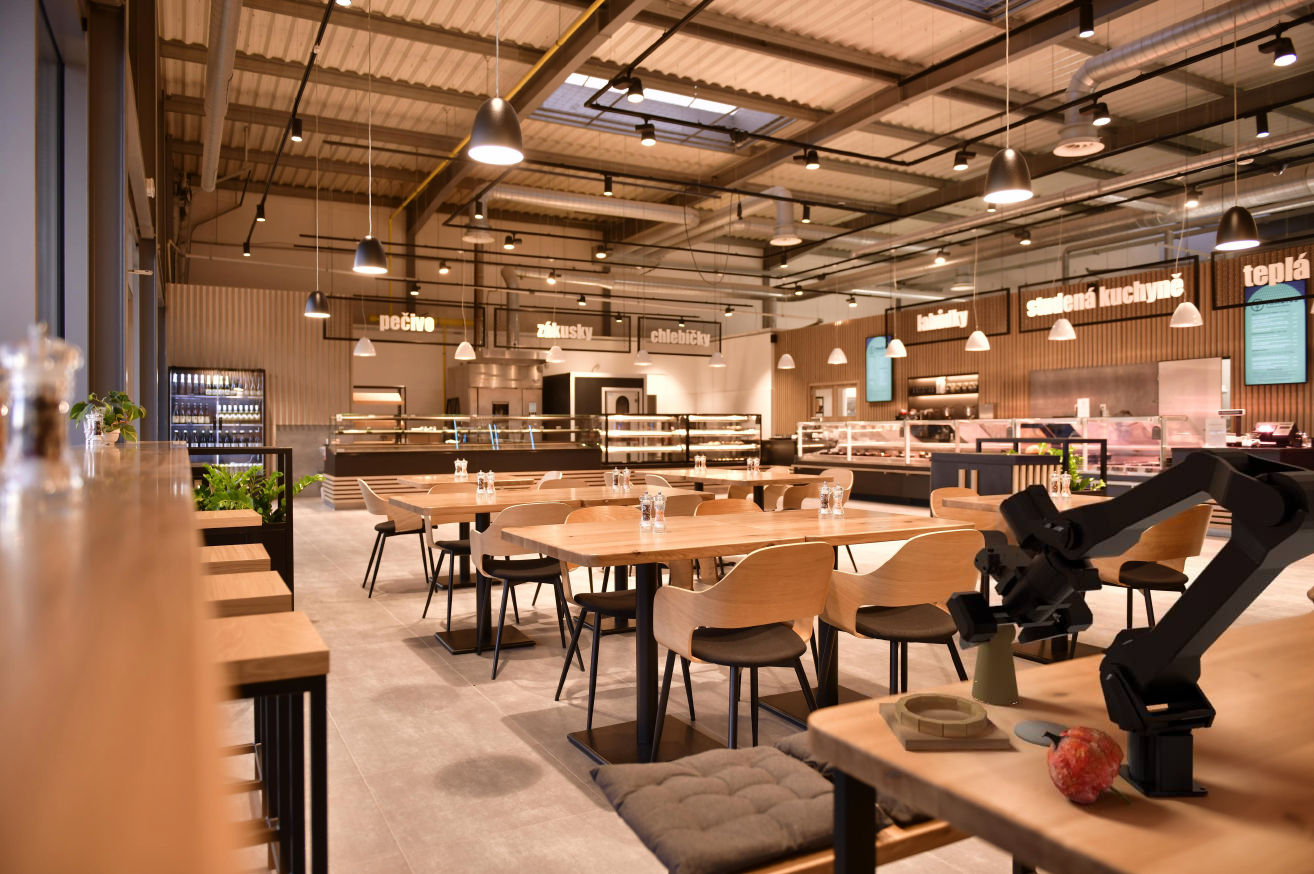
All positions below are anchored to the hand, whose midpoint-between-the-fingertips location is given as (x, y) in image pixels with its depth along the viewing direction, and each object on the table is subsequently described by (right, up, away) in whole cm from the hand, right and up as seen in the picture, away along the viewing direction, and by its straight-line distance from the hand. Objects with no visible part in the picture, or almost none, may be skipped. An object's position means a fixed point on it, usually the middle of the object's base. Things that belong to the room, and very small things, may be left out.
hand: (991, 643), depth 115 cm
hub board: (-11, -8, -11) cm, 18 cm away
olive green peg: (0, -7, -1) cm, 7 cm away
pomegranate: (-2, -9, -30) cm, 31 cm away
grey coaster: (+1, -8, -14) cm, 16 cm away
